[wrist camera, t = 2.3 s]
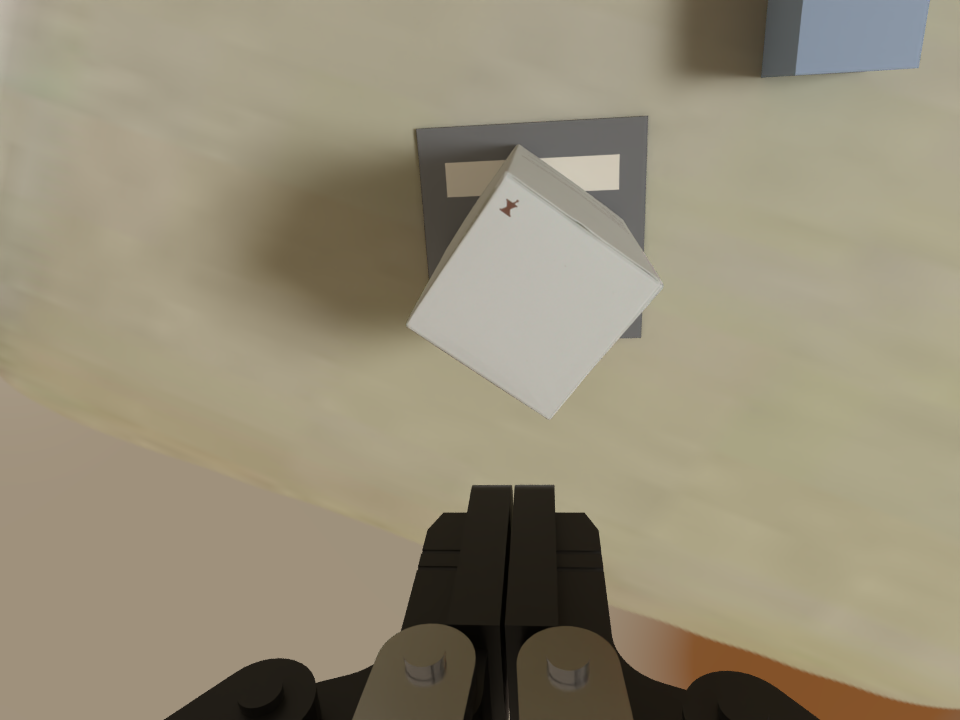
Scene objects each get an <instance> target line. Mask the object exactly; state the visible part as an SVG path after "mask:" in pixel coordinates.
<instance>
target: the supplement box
mask: <svg viewBox="0 0 960 720" xmlns="http://www.w3.org/2000/svg"><path fill="white" fill-rule="evenodd" d="M662 288H663V283H662V281H661V279H660V277H659V275H658V274H657V272H656V270H655V269H654V267H653V265H652V264H651V262H650V261H649V259H648V258H647V256H646V255H645V253H644V252H643V250H642V249H641V247H640V246H639V244H638V243H637V241H636V240H635V238H634V237H633V235H632V234H631V232H630V231H629V229H628V227H627V225H626V224H625V222H624V220H623V219H622V218H620V217H619V216H618V215H616V214H615V213H614V212H613V211H611V210H610V209H609V208H607V207H606V206H605V205H603V204H602V203H601V202H599V201H598V200H597V199H595V198H594V197H593V196H591V195H590V194H589V193H587V192H586V191H585V190H583V189H582V188H581V187H579V186H578V185H576V184H575V183H574V182H572V181H571V180H569V179H568V178H567V177H565V176H564V175H562V174H561V173H560V172H558V171H557V170H555V169H554V168H552V167H551V166H550V165H548V164H547V163H545V162H544V161H543V160H541V159H540V158H538V157H537V156H535V155H534V154H533V153H531V152H530V151H528V150H527V149H525V148H524V147H523V146H521V145H520V144H518V145H516V146H515V148H514V149H513V150H512V152H511V153H510V155H509V156H508V157H507V159H506V160H505V162H504V163H503V164H502V166H501V167H500V169H499V170H498V172H497V173H496V174H495V176H494V177H493V179H492V180H491V181H490V183H489V184H488V186H487V187H486V189H485V190H484V191H483V193H482V194H481V196H480V197H479V199H478V200H477V202H476V203H475V205H474V206H473V208H472V209H471V211H470V212H469V214H468V215H467V217H466V218H465V220H464V222H463V223H462V225H461V226H460V228H459V230H458V231H457V233H456V234H455V236H454V238H453V239H452V241H451V242H450V244H449V246H448V247H447V249H446V250H445V253H444V255H443V256H442V258H441V260H440V262H439V264H438V266H437V267H436V269H435V271H434V273H433V274H432V276H431V278H430V280H429V281H428V283H427V285H426V287H425V288H424V290H423V292H422V294H421V296H420V298H419V300H418V301H417V303H416V305H415V307H414V309H413V311H412V312H411V314H410V316H409V318H408V320H407V323H406V326H407V327H408V328H409V329H411V330H412V331H414V332H415V333H417V334H418V335H420V336H421V337H423V338H424V339H426V340H427V341H429V342H430V343H432V344H433V345H435V346H436V347H438V348H439V349H441V350H442V351H444V352H445V353H447V354H448V355H450V356H451V357H453V358H454V359H456V360H458V361H459V362H461V363H462V364H464V365H465V366H467V367H468V368H470V369H471V370H473V371H474V372H476V373H477V374H479V375H480V376H482V377H483V378H485V379H487V380H488V381H490V382H491V383H493V384H494V385H496V386H497V387H499V388H500V389H502V390H503V391H505V392H506V393H508V394H510V395H511V396H513V397H514V398H516V399H517V400H519V401H520V402H522V403H524V404H525V405H527V406H528V407H530V408H531V409H533V410H534V411H536V412H537V413H539V414H541V415H542V416H543V417H545V418H546V419H548V420H550V419H552V417H553V416H554V414H555V413H556V412H557V411H558V410H559V408H560V407H561V406H562V405H563V404H564V402H565V401H566V400H567V399H568V398H569V396H570V395H571V394H572V393H573V391H574V390H575V389H576V388H577V387H578V385H579V384H580V383H581V382H582V380H583V379H584V378H585V377H586V376H587V375H588V374H589V372H590V371H591V370H592V369H593V368H594V367H595V366H596V364H597V363H598V362H599V361H600V360H601V359H602V358H603V356H604V355H605V354H606V353H607V352H608V351H609V349H610V348H611V347H612V346H613V345H614V344H615V343H616V341H617V340H618V339H619V338H620V337H621V336H622V334H623V333H624V332H625V331H626V330H627V329H628V328H629V326H630V325H631V324H632V323H633V322H634V321H635V320H636V318H637V317H638V316H639V315H640V314H641V313H642V312H643V310H644V309H645V308H646V307H647V306H648V305H649V304H650V302H651V301H652V300H653V299H654V298H655V297H656V296H657V294H658V293H659V292H660V291H661V290H662Z"/></svg>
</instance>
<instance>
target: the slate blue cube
mask: <svg viewBox="0 0 960 720" xmlns="http://www.w3.org/2000/svg"><path fill="white" fill-rule="evenodd" d="M929 2H930V0H768V7H767V18H766V29H765V41H764V52H763V63H762V74H761V77H778V76H795V75H812V74H829V73H846V72H863V71H879V70H895V69H910V68H919V62H920V56H921V50H922V44H923V38H924V32H925V26H926V20H927V14H928V8H929Z"/></svg>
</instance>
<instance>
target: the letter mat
mask: <svg viewBox="0 0 960 720" xmlns="http://www.w3.org/2000/svg"><path fill="white" fill-rule="evenodd" d="M416 132H417V143H418V155H419V167H420V178H421V190H422V202H423V213H424V225H425V237H426V248H427V260H428V272H429V280H430V278H431V276H432V274H433V273H434V271H435V269H436V267H437V266H438V264H439V262H440V260H441V258H442V256H443V255H444V253H445V250H446V249H447V247H448V246H449V244H450V242H451V241H452V239H453V238H454V236H455V234H456V233H457V231H458V230H459V228H460V226H461V225H462V223H463V222H464V220H465V218H466V217H467V215H468V214H469V212H470V211H471V209H472V208H473V206H474V205H475V203H476V202H477V200H478V199H479V197H480V196H481V194H482V193H483V191H484V190H485V189H486V187H487V186H488V184H489V183H490V181H491V180H492V179H493V177H494V176H495V174H496V173H497V172H498V170H499V169H500V167H501V166H502V164H503V163H504V162H505V160H506V159H507V157H508V156H509V155H510V153H511V152H512V150H513V149H514V148H515V146H516V145H518V144H520V145H521V146H523V147H524V148H525V149H527V150H528V151H530V152H531V153H533V154H534V155H535V156H537V157H538V158H540V159H541V160H543V161H544V162H545V163H547V164H548V165H550V166H551V167H552V168H554V169H555V170H557V171H558V172H560V173H561V174H562V175H564V176H565V177H567V178H568V179H569V180H571V181H572V182H574V183H575V184H576V185H578V186H579V187H581V188H582V189H583V190H585V191H586V192H587V193H589V194H590V195H591V196H593V197H594V198H595V199H597V200H598V201H599V202H601V203H602V204H603V205H605V206H606V207H607V208H609V209H610V210H611V211H613V212H614V213H615V214H616V215H618V216H619V217H620V218H622V219H623V220H624V222H625V224H626V225H627V227H628V229H629V231H630V232H631V234H632V235H633V237H634V238H635V240H636V241H637V243H638V244H639V246H640V247H641V249H642V250H643V252H644V229H645V197H646V165H647V133H648V116H639V117H621V118H603V119H585V120H567V121H550V122H532V123H514V124H496V125H478V126H461V127H443V128H425V129H416ZM641 324H642V313H641V314H640V315H639V316H638V317H637V318H636V320H635V321H634V322H633V323H632V324H631V325H630V326H629V328H628V329H627V330H626V331H625V332H624V333H623V334H622V336H621V337H620V338H641Z"/></svg>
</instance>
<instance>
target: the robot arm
mask: <svg viewBox="0 0 960 720" xmlns="http://www.w3.org/2000/svg"><path fill="white" fill-rule="evenodd" d="M509 711H510V720H819V719H818V718H817V717H816V716H814V715H813V714H811V713H810V712H809V711H807V710H806V709H805V708H803V707H802V706H801V705H799V704H798V703H797V702H795V701H794V700H792V699H791V698H790V697H788V696H787V695H786V694H784V693H783V692H782V691H780V690H779V689H778V688H776V687H774V686H773V685H771V684H770V683H768V682H766V681H764V680H762V679H760V678H758V677H755V676H752V675H749V674H745V673H741V672H734V671H719V672H712V673H709V674H706V675H704V676H702V677H700V678H698V679H696V680H695V681H694V682H693V683H692V684H691V685H690V686H689V687H688V689H687V690H684V689H681V688H677V687H674V686H671V685H667V684H664V683H661V682H658V681H655V680H653V679H650V678H648V677H646V676H644V675H642V674H641V673H639V672H638V671H636V670H634V669H633V668H632V667H631V666H630V665H629V664H627V663H626V662H625V660H624V659H623V658H622V657H621V656H620V654H619V653H618V651H617V650H616V647H615V645H614V643H613V638H612V634H611V625H610V617H609V610H608V601H607V593H606V585H605V578H604V572H603V562H602V555H601V546H600V538H599V530H598V529H597V528H596V527H595V525H594V524H593V523H592V522H591V520H590V519H589V518H588V517H587V515H586V514H585V513H555V493H554V485H515V490H514V504H513V490H512V485H473V486H472V489H471V494H470V500H469V505H468V511H467V513H443V514H442V515H441V516H440V517H439V518H438V519H437V520H436V521H435V522H434V524H433V525H432V526H431V527H430V528H429V529H428V531H427V534H426V538H425V542H424V546H423V552H422V554H421V557H420V561H419V565H418V570H417V573H416V576H415V580H414V584H413V587H412V591H411V595H410V599H409V603H408V607H407V610H406V615H405V618H404V622H403V625H402V629H401V632H399V633H397V634H396V635H394V636H393V637H391V638H390V639H389V640H388V641H387V642H386V643H385V644H384V645H383V647H382V648H381V649H380V651H379V653H378V655H377V657H376V660H375V662H374V664H373V665H372V666H370V667H368V668H366V669H364V670H361V671H359V672H356V673H353V674H350V675H346V676H342V677H338V678H334V679H330V680H326V681H322V682H318V683H315V678H314V676H313V674H312V672H311V671H310V670H309V669H308V668H307V667H306V666H304V665H303V664H302V663H299V662H297V661H295V660H290V659H282V658H278V659H268V660H263V661H259V662H256V663H253V664H251V665H249V666H246V667H244V668H243V669H241V670H239V671H237V672H236V673H234V674H233V675H231V676H230V677H228V678H227V679H225V680H223V681H222V682H220V683H219V684H217V685H216V686H215V687H213V688H211V689H210V690H208V691H207V692H205V693H204V694H202V695H201V696H199V697H198V698H196V699H195V700H193V701H192V702H190V703H189V704H187V705H186V706H184V707H183V708H181V709H180V710H178V711H176V712H175V713H173V714H172V715H170V716H169V717H168V718H166V719H164V720H509Z"/></svg>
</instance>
